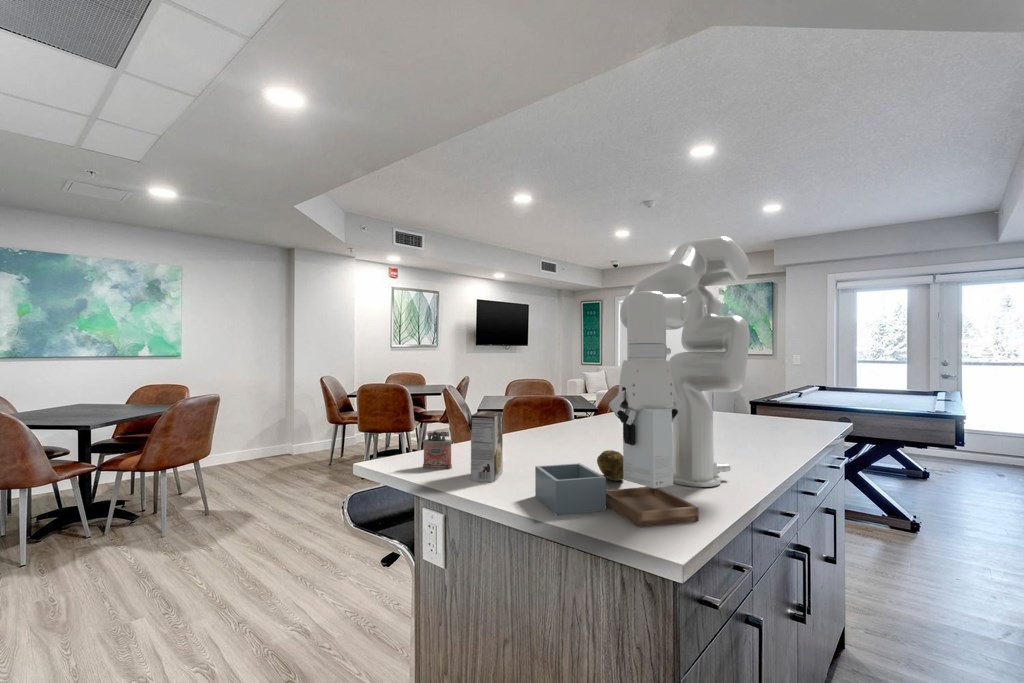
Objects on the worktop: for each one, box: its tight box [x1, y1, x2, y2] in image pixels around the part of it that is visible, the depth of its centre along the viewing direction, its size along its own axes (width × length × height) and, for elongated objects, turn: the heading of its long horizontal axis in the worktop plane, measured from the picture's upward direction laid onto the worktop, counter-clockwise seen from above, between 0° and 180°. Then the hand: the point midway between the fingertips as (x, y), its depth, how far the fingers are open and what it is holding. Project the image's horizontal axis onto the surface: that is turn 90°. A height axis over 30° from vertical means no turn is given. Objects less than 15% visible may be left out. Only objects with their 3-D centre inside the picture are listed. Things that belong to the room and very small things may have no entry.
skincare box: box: [622, 408, 674, 488], centre depth 94 cm, size 8×6×15 cm
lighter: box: [422, 430, 453, 470], centre depth 129 cm, size 8×3×10 cm, turn 81°
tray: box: [606, 486, 700, 528], centre depth 94 cm, size 13×15×2 cm
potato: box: [596, 449, 624, 482], centre depth 116 cm, size 8×13×8 cm, turn 152°
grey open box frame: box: [534, 462, 607, 516], centre depth 99 cm, size 11×13×6 cm
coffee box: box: [470, 410, 504, 483], centre depth 120 cm, size 9×6×16 cm
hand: (646, 442), depth 94 cm, fingers closed on skincare box, 6 cm apart
